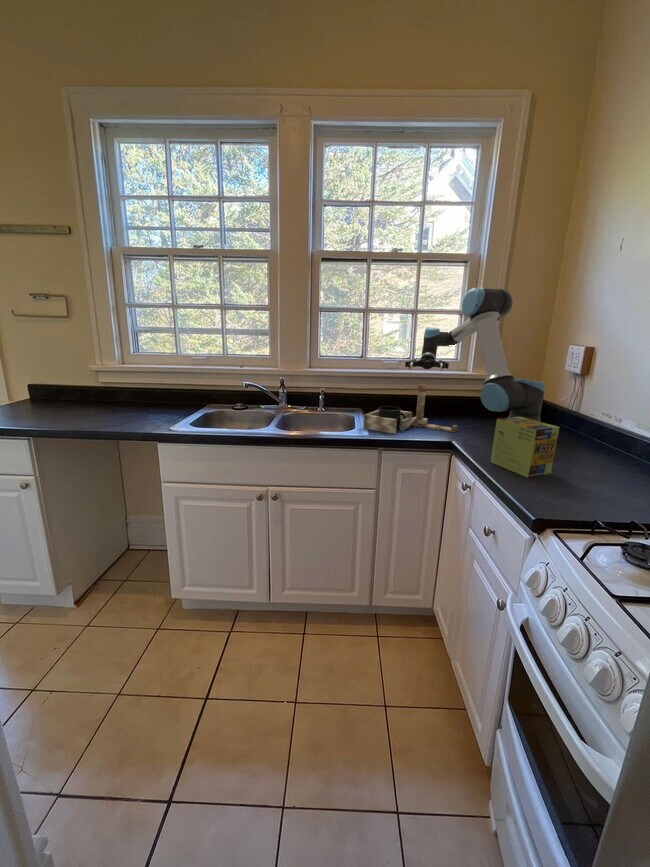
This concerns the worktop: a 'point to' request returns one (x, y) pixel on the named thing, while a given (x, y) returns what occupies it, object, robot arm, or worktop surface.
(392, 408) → the mug
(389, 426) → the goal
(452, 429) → the rail
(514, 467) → the protein box
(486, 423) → the worktop surface
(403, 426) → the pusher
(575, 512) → the worktop surface
